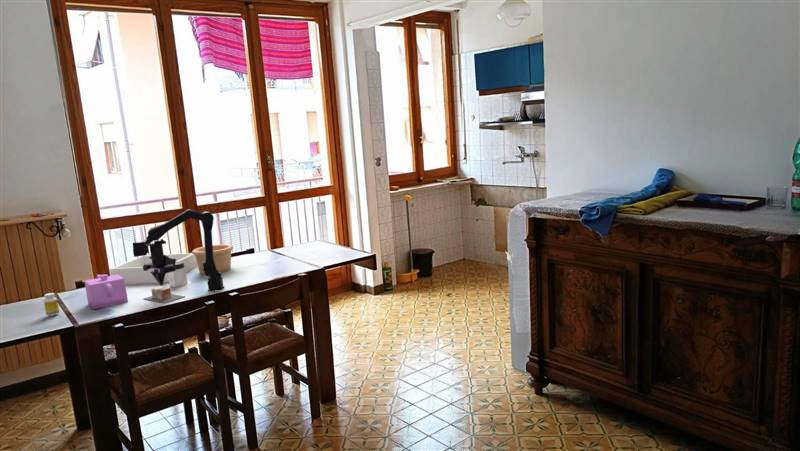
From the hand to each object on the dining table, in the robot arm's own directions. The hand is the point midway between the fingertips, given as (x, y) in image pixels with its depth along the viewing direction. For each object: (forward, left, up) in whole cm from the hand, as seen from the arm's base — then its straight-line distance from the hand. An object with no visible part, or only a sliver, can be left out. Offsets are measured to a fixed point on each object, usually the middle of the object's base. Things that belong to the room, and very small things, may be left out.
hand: (161, 285), depth 281 cm
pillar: (-3, +2, -4) cm, 5 cm away
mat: (-1, 0, -6) cm, 7 cm away
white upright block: (+4, -24, -7) cm, 25 cm away
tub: (+28, -47, -6) cm, 55 cm away
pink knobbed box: (+27, +3, -7) cm, 28 cm away
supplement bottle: (+44, +19, -7) cm, 48 cm away
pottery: (-6, -49, -7) cm, 50 cm away
